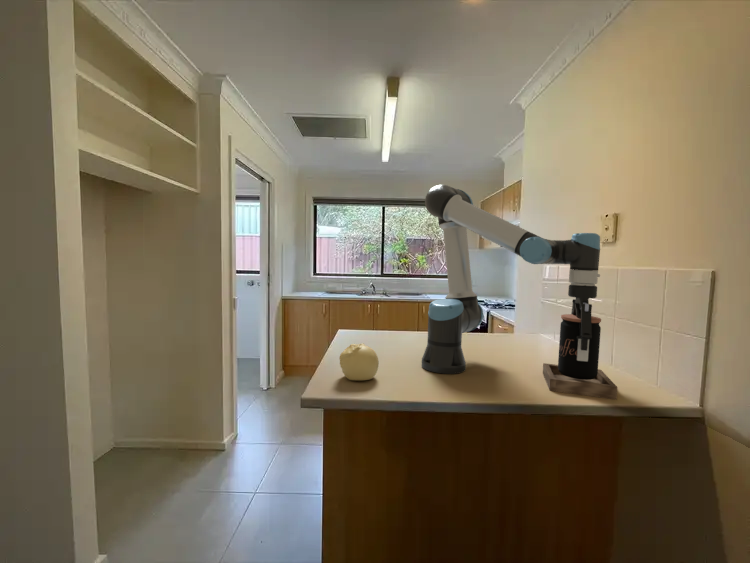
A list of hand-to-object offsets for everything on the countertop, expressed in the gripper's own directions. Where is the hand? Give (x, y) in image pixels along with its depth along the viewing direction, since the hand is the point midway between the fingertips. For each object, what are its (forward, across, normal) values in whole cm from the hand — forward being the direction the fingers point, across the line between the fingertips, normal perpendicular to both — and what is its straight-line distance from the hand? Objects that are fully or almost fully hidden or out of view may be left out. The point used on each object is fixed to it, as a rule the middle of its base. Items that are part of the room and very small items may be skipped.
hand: (578, 355), depth 110 cm
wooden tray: (+9, 0, 0) cm, 9 cm away
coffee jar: (+6, 0, 0) cm, 6 cm away
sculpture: (+9, -21, +64) cm, 68 cm away
